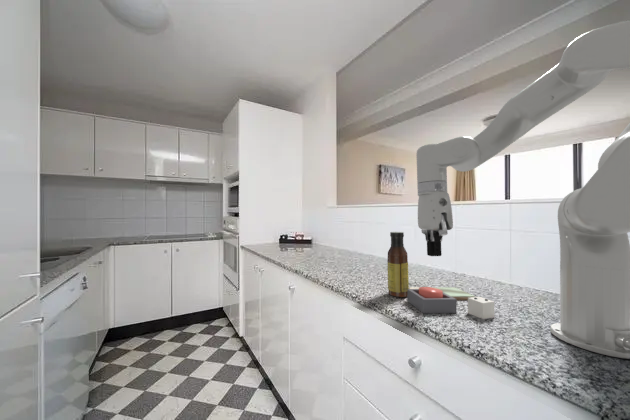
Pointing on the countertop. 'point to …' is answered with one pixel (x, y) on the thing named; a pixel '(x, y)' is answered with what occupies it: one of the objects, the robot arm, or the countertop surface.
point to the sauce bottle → (397, 266)
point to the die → (481, 307)
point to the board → (452, 292)
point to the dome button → (430, 292)
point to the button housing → (432, 303)
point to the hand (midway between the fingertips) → (434, 255)
